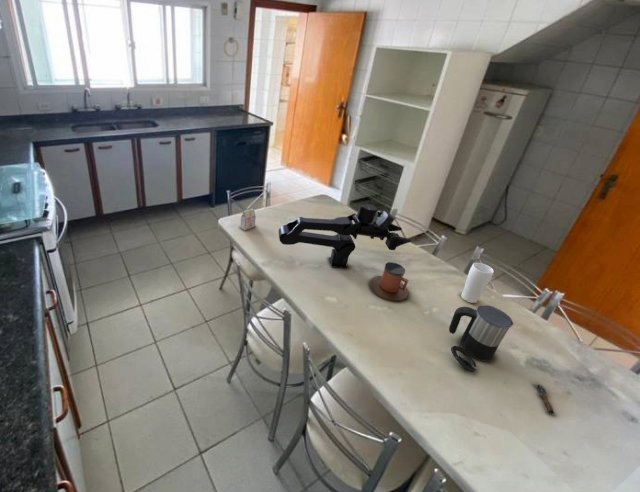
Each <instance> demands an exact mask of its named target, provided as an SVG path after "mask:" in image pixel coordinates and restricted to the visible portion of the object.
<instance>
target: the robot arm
mask: <svg viewBox="0 0 640 492" xmlns="http://www.w3.org/2000/svg"><path fill="white" fill-rule="evenodd" d="M375 216H376V217H375ZM374 219H375V220H374ZM394 221H395V218H394V217H393V215H392V214H391V213H389V212H387V210H378V207H377V206H375V205H374V204H370V203H363V204H360V205H359V206H358V210H357V213H352V214H350V215H347V216H338V217H336V218H332V219H329V218H326V219H325V218H313V217H303V216H299V217H298V218H295V219H294V220H291V221H289V222H287V223H286V224H284V225H281V226H280V227H279V228H278V241H279V242H280V243H281V244H282V245H284V246H285V245H286V246H287V245H288V246H290V245H291V246H294V245H296V244H299V243H300V244H306V245H307V244H309V245H314V246H322V247H329V248H331V253H330V256H329V257H328V260H329V263H330V265H331V267H332V268H341V269H343V268H345V269H346V268H348V262H349V257H350V255H351V254H352V252H354V251H355V250H356V244H355V242H354V240H356V239H357V237H358V236H364V237H369V238H370V239H371V240H374V239H375V238H376V239H377V238H378V239H379V240H380V241H384V239H385V242H384V244H385V246H387V248H388V250H389V251H396V249H397V248H398V247H400V246H403V245H406V244H409V243H411V241H412V240H411V239H410V238H407V237H403V236H400V235H399V233H396V232H400V231H402V227H401V226H399V225H396V224H394V223H393V222H394ZM305 230H308V231H305ZM309 230H311V231H323V232H324V231H325V232H334V233H335V234H334V235H332V234H331V235H330V234H324V233H316V232H309Z"/></svg>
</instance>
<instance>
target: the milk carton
mask: <svg viewBox="0 0 640 492" xmlns="http://www.w3.org/2000/svg"><path fill="white" fill-rule="evenodd" d="M256 217H257V216H256V212H255V207H253V208H250V209H247V210H244V211H243V212H242V215H241V216H240V225H239V227H240V229H241V230H243V231H247V230H251V229H253V228H256Z"/></svg>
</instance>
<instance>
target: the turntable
mask: <svg viewBox="0 0 640 492" xmlns="http://www.w3.org/2000/svg"><path fill="white" fill-rule="evenodd" d="M381 278H382V275H375V276H374V277H372V278H371V279H370V282H369V287H370V289H371V291H372V292H373V294H375V295H376V296H378V297H379V298H381V299H383V300H385V301H389V302H394V303H397V302H398V303H399V302H403V301H405V300H406V299H407V298H408V297H409V290H408V287H406V289H405V291H403V290H401V289H399V290H398V292H395V293H391V292H387V291H385V290H384V289H382V288H381V286H380V281H381ZM400 285H401V286H404V283H402V282H401V284H400Z"/></svg>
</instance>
